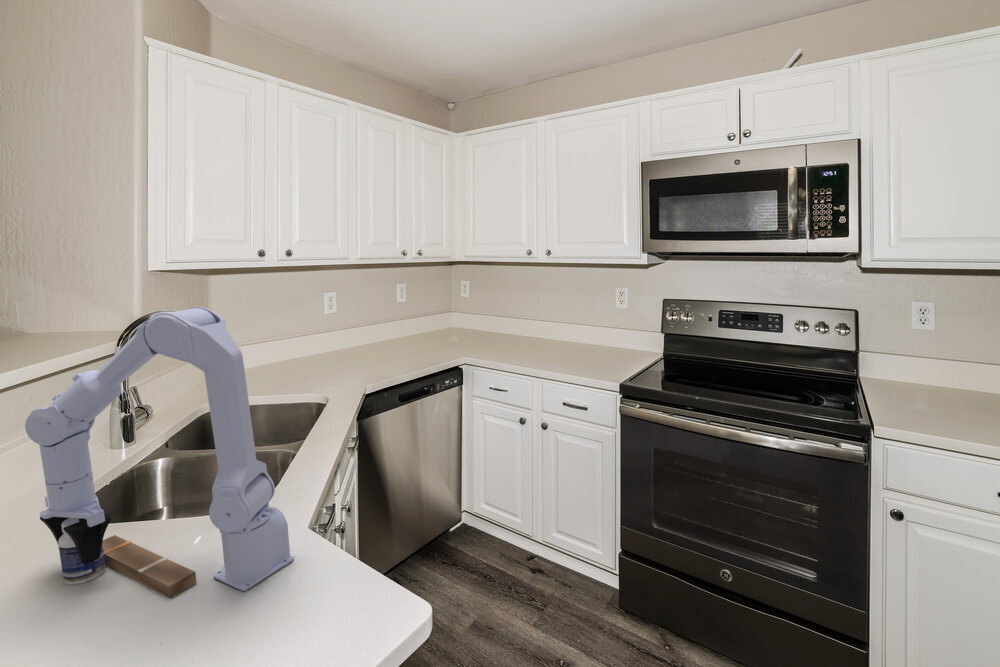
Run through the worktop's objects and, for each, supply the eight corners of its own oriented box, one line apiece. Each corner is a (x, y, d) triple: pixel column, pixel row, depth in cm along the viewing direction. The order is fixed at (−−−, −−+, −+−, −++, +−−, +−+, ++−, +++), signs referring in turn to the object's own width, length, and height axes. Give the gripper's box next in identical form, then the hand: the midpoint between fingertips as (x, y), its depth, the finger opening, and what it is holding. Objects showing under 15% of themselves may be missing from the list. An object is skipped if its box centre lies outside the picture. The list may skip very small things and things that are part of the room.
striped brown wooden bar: (116, 545, 91) (115, 534, 91) (196, 583, 80) (195, 570, 80) (90, 557, 88) (88, 545, 88) (170, 598, 77) (168, 585, 76)
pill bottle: (104, 578, 82) (96, 522, 80) (61, 590, 79) (51, 532, 78) (108, 561, 86) (100, 508, 85) (67, 572, 84) (58, 517, 82)
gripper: (16, 478, 80) (29, 557, 82) (60, 496, 73) (73, 582, 75) (70, 462, 86) (81, 535, 88) (115, 477, 80) (125, 557, 82)
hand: (81, 555), depth 82 cm, fingers open, 6 cm apart
